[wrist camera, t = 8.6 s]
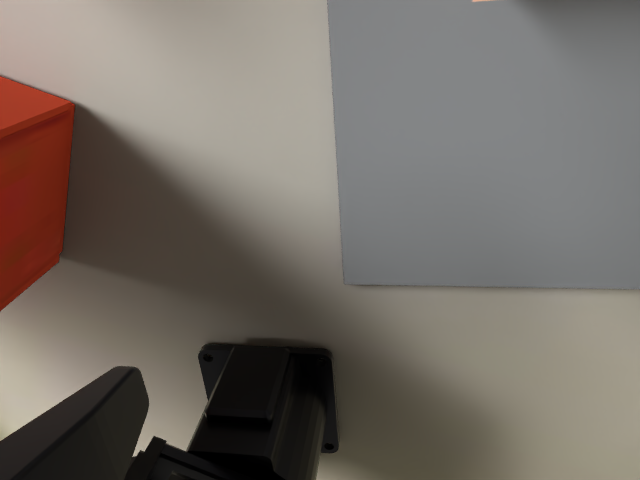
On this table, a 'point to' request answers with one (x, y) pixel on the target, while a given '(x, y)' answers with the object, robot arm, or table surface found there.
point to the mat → (488, 142)
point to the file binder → (31, 183)
